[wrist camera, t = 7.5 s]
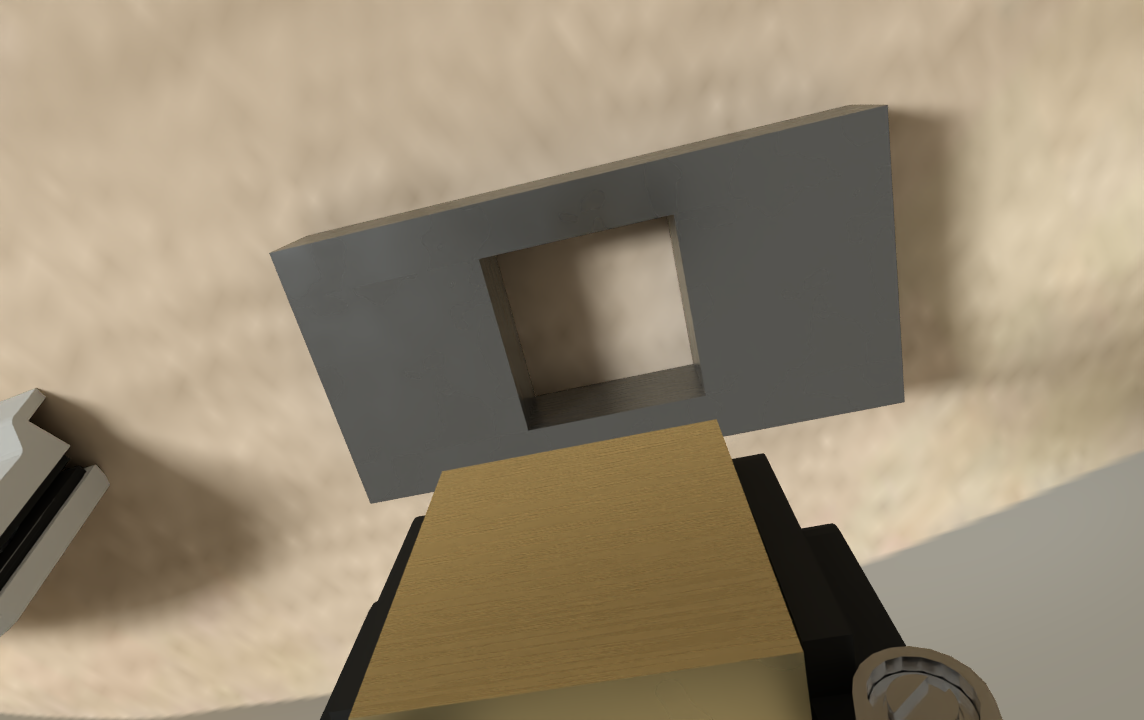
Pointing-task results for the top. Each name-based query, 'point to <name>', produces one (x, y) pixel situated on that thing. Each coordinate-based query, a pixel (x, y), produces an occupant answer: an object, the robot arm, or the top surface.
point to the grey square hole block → (706, 279)
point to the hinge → (36, 503)
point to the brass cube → (590, 593)
